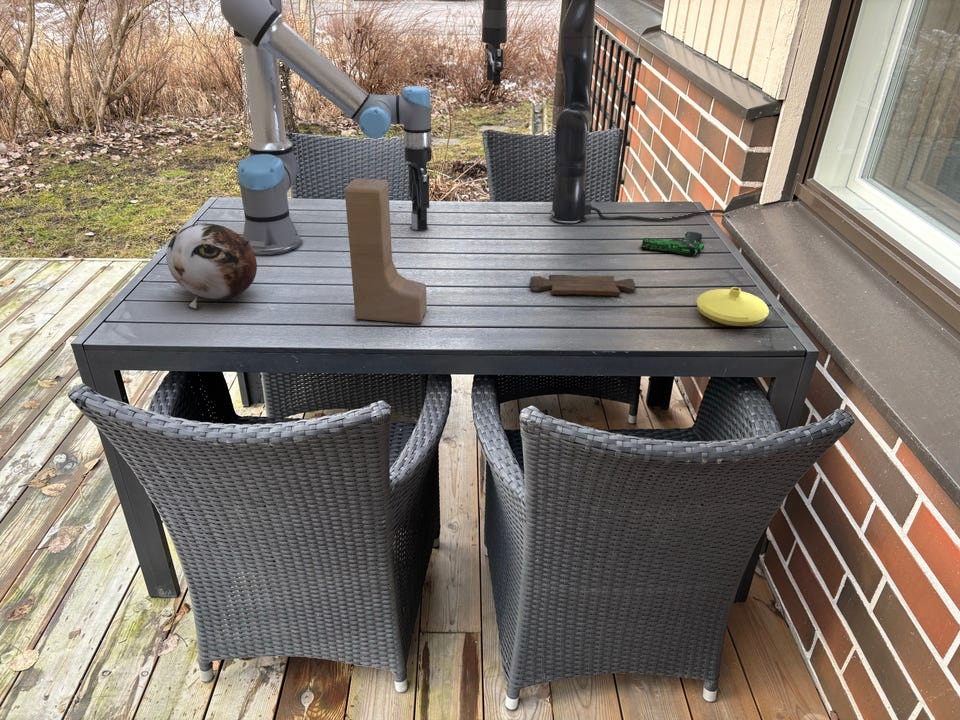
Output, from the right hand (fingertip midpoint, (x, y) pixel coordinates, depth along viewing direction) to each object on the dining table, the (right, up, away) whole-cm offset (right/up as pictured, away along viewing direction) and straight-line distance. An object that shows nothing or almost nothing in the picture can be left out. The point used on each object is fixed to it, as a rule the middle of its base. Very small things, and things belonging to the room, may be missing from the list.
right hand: (493, 82), depth 222 cm
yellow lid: (+53, -77, -59) cm, 110 cm away
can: (-22, -47, -12) cm, 54 cm away
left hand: (-22, -47, -12) cm, 53 cm away
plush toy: (-66, -71, -53) cm, 111 cm away
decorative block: (-24, -76, -60) cm, 100 cm away
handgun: (+50, -54, -22) cm, 77 cm away
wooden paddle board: (+21, -69, -46) cm, 85 cm away
